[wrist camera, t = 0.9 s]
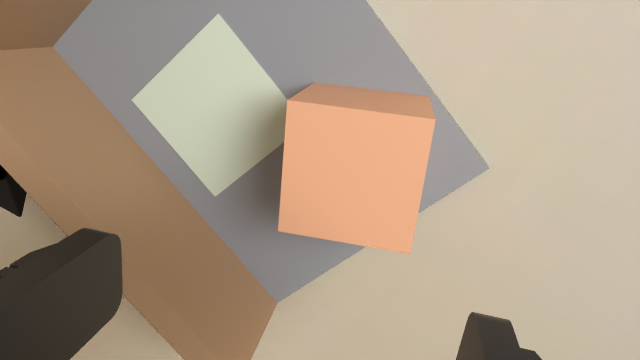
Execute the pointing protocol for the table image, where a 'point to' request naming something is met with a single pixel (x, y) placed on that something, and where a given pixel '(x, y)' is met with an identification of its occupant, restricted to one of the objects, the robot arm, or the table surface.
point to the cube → (355, 165)
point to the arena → (193, 143)
